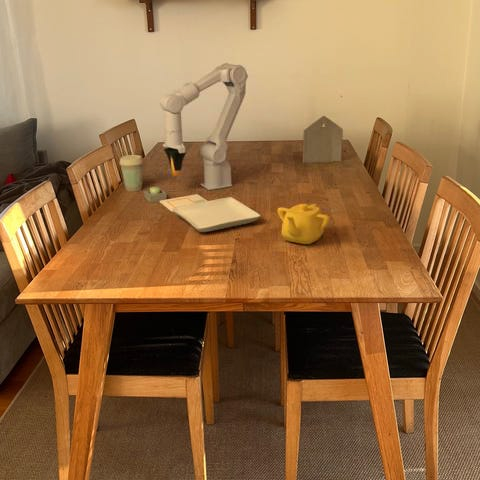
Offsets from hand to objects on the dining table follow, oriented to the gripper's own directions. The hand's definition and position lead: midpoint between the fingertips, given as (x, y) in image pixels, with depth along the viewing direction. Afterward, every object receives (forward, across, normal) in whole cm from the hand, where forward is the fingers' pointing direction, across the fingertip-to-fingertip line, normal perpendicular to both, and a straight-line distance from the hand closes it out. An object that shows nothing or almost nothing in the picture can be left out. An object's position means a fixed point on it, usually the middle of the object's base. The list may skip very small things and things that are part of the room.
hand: (176, 169), depth 202 cm
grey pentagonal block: (+9, -12, +70) cm, 72 cm away
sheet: (+9, +12, -2) cm, 15 cm away
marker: (+2, 0, 0) cm, 2 cm away
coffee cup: (+9, -13, -12) cm, 20 cm away
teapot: (+9, +59, +14) cm, 61 cm away
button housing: (+9, +2, -9) cm, 13 cm away
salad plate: (+10, +32, 0) cm, 33 cm away
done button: (+9, +2, -9) cm, 13 cm away
